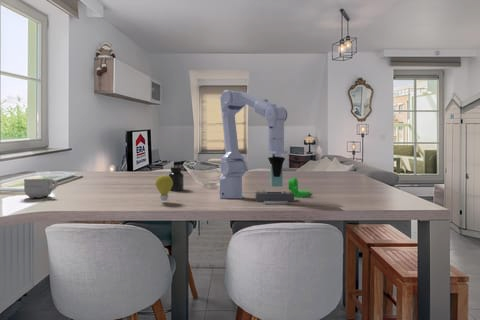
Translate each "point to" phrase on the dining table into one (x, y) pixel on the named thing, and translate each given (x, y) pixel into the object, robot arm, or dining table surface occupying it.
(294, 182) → the mechanical part
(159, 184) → the light bulb
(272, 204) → the pad
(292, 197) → the box
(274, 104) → the robot arm
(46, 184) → the teacup
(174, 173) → the supplement bottle
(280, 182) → the plug
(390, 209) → the dining table surface
